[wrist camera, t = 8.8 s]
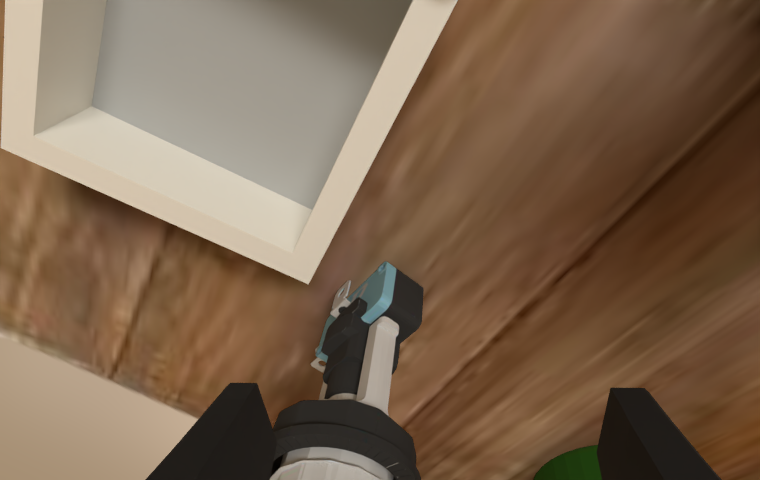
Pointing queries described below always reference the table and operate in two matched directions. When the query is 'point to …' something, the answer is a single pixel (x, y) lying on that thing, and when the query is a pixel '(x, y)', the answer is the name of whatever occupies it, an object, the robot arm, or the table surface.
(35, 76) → the bay
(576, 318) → the table surface
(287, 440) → the push button
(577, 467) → the candle
